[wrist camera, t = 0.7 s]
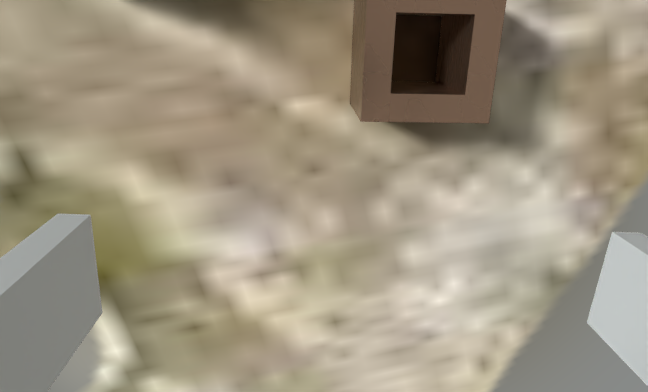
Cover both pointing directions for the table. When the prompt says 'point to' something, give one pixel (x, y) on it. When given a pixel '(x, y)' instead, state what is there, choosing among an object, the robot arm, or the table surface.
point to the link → (452, 63)
